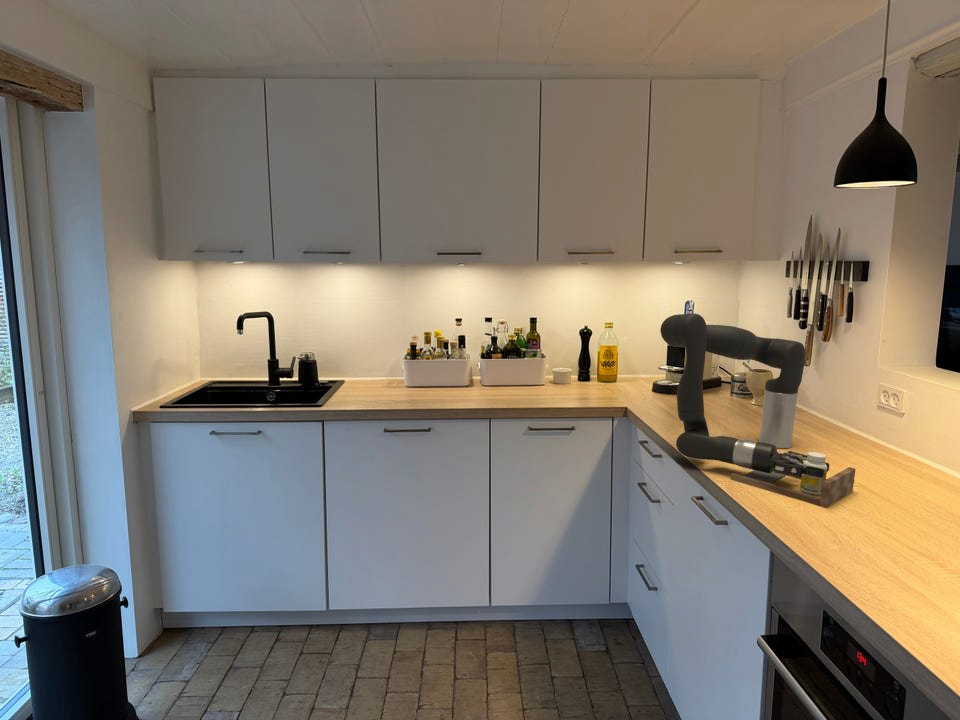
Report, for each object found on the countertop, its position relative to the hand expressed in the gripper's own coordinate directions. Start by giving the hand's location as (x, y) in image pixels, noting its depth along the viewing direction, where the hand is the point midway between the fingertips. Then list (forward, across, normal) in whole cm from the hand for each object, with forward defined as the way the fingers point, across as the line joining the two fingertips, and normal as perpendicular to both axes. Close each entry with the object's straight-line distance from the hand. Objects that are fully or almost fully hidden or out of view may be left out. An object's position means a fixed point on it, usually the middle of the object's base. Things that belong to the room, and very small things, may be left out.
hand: (826, 470), depth 153 cm
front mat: (-15, +2, +6) cm, 16 cm away
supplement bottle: (-3, 0, +6) cm, 7 cm away
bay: (-8, +1, +6) cm, 10 cm away
